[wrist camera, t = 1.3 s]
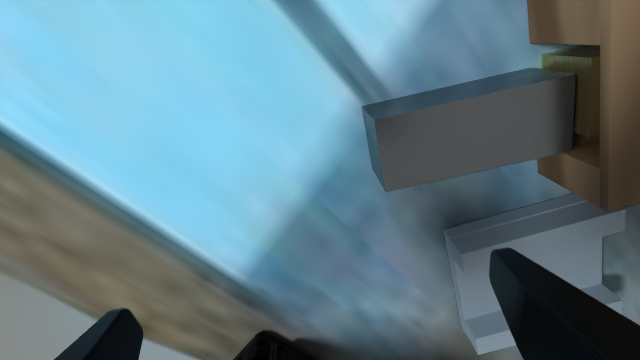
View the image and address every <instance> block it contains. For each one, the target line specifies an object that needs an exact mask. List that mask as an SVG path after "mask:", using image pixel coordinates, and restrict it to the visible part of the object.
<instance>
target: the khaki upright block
mask: <svg viewBox="0 0 640 360" xmlns="http://www.w3.org/2000/svg"><path fill="white" fill-rule="evenodd" d="M542 70H550V71H557V72H565V73H573V74H576V76H575V96H574V116H573V132H576V133H579V134H582V135H584V136H587V137H590V136H594V135H598V134H600V45H578V46H574V47H570V48H566V49H562V50H558V51H554V52H550V53H546V54H543V55H542Z"/></svg>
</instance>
